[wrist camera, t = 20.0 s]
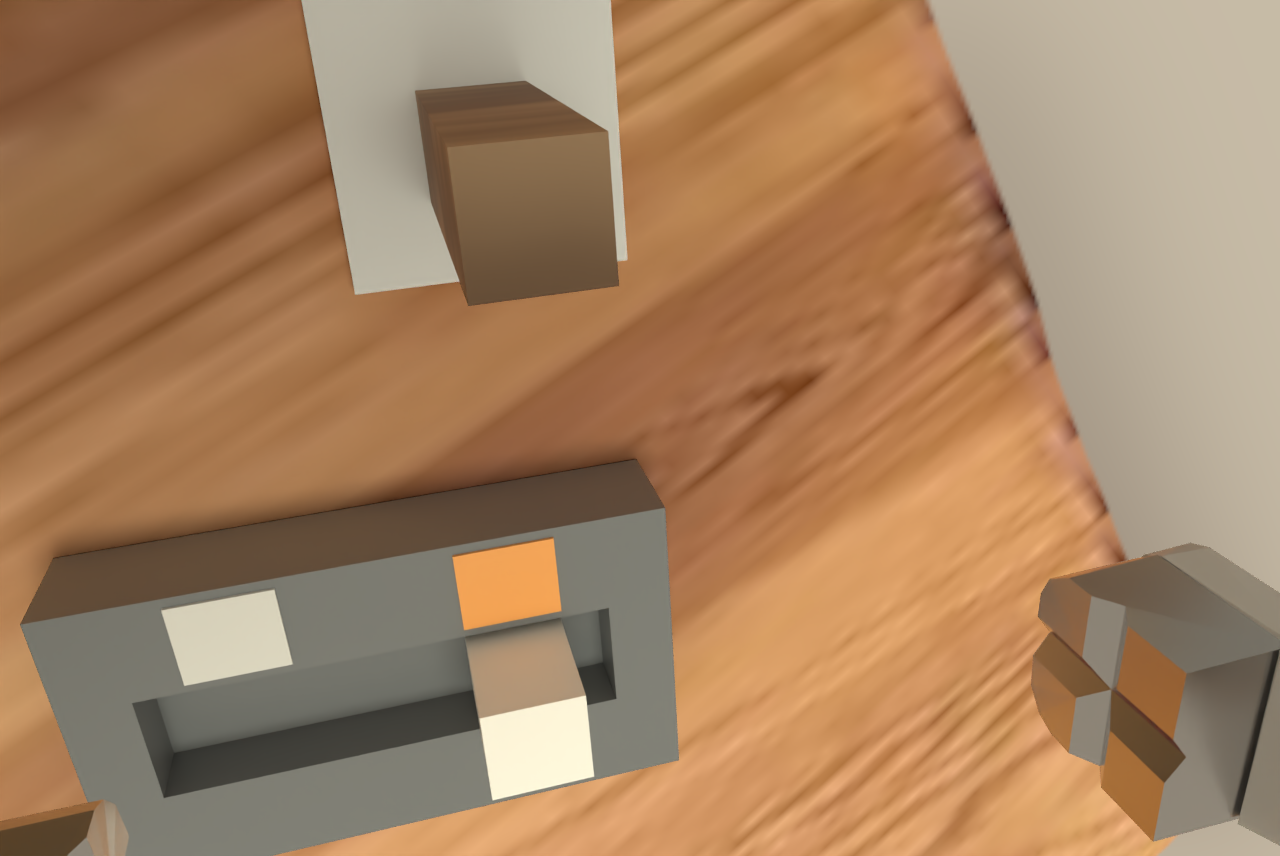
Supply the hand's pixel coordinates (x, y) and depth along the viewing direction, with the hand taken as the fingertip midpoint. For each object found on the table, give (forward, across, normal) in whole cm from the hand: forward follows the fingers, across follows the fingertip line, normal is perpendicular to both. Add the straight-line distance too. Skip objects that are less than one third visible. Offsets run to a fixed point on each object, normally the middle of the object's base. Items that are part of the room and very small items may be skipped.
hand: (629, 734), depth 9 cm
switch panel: (+23, +3, +14) cm, 27 cm away
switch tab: (+21, -1, +14) cm, 26 cm away
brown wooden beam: (+22, -2, -2) cm, 23 cm away
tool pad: (+23, -2, -2) cm, 23 cm away
